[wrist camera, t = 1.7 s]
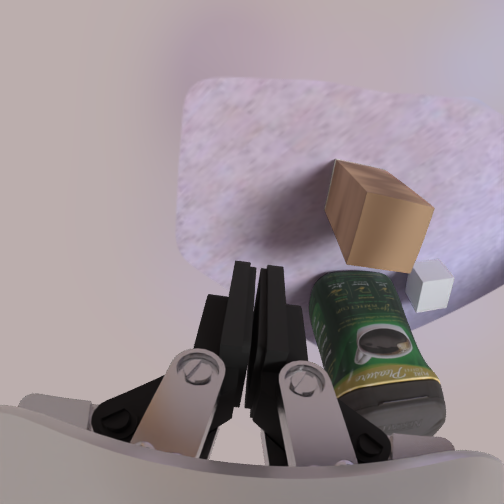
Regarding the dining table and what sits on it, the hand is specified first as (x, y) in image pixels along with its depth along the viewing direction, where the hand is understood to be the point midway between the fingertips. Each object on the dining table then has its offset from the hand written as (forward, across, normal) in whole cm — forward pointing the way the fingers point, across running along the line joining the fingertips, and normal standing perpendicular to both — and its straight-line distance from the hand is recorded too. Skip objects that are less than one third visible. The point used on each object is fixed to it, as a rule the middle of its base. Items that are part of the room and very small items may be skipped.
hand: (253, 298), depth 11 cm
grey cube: (+18, -20, +8) cm, 28 cm away
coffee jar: (+18, -12, +12) cm, 25 cm away
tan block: (+18, -9, 0) cm, 20 cm away
